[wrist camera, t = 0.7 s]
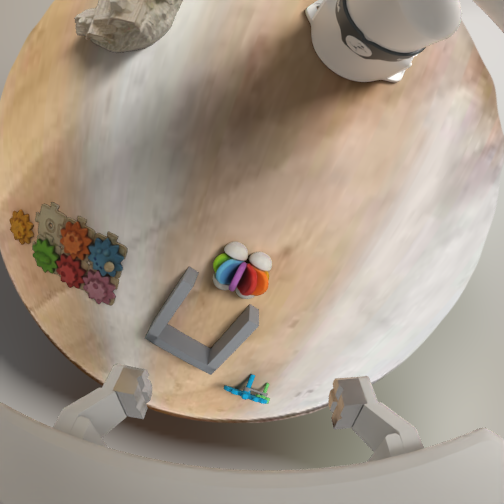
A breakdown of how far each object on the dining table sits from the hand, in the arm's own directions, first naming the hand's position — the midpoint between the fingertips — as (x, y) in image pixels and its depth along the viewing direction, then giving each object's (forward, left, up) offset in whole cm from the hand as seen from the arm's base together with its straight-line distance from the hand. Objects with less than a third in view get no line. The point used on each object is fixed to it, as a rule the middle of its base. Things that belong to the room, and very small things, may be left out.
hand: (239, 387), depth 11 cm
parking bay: (+24, +5, -37) cm, 44 cm away
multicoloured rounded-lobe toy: (+11, +5, -37) cm, 39 cm away
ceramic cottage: (-16, -36, -37) cm, 54 cm away
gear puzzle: (+29, -27, -37) cm, 55 cm away
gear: (+35, +23, -37) cm, 56 cm away
